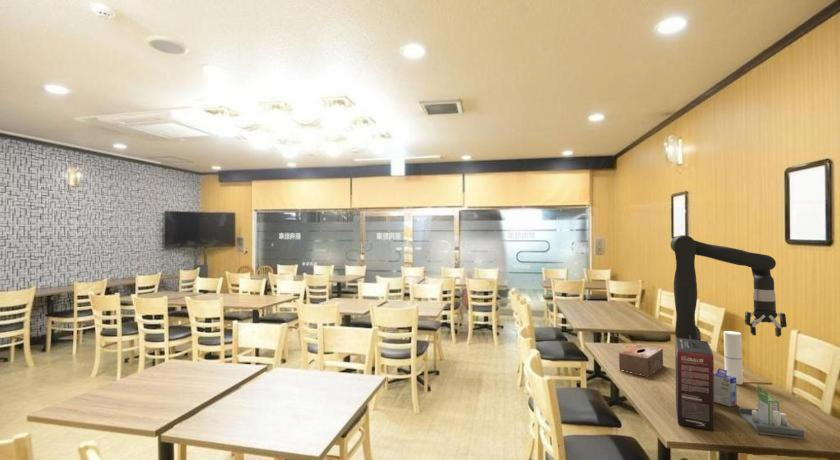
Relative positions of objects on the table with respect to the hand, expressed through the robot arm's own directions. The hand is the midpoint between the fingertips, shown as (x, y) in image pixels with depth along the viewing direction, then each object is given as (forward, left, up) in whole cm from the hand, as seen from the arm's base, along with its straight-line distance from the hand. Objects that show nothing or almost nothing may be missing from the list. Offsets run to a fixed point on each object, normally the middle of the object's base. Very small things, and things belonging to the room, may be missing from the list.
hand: (765, 335), depth 180 cm
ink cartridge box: (-19, -4, -30) cm, 36 cm away
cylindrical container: (-4, +27, -30) cm, 40 cm away
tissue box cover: (-44, +38, -31) cm, 65 cm away
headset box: (-35, -24, -30) cm, 52 cm away
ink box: (-10, -25, -29) cm, 40 cm away
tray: (-10, -25, -30) cm, 40 cm away
